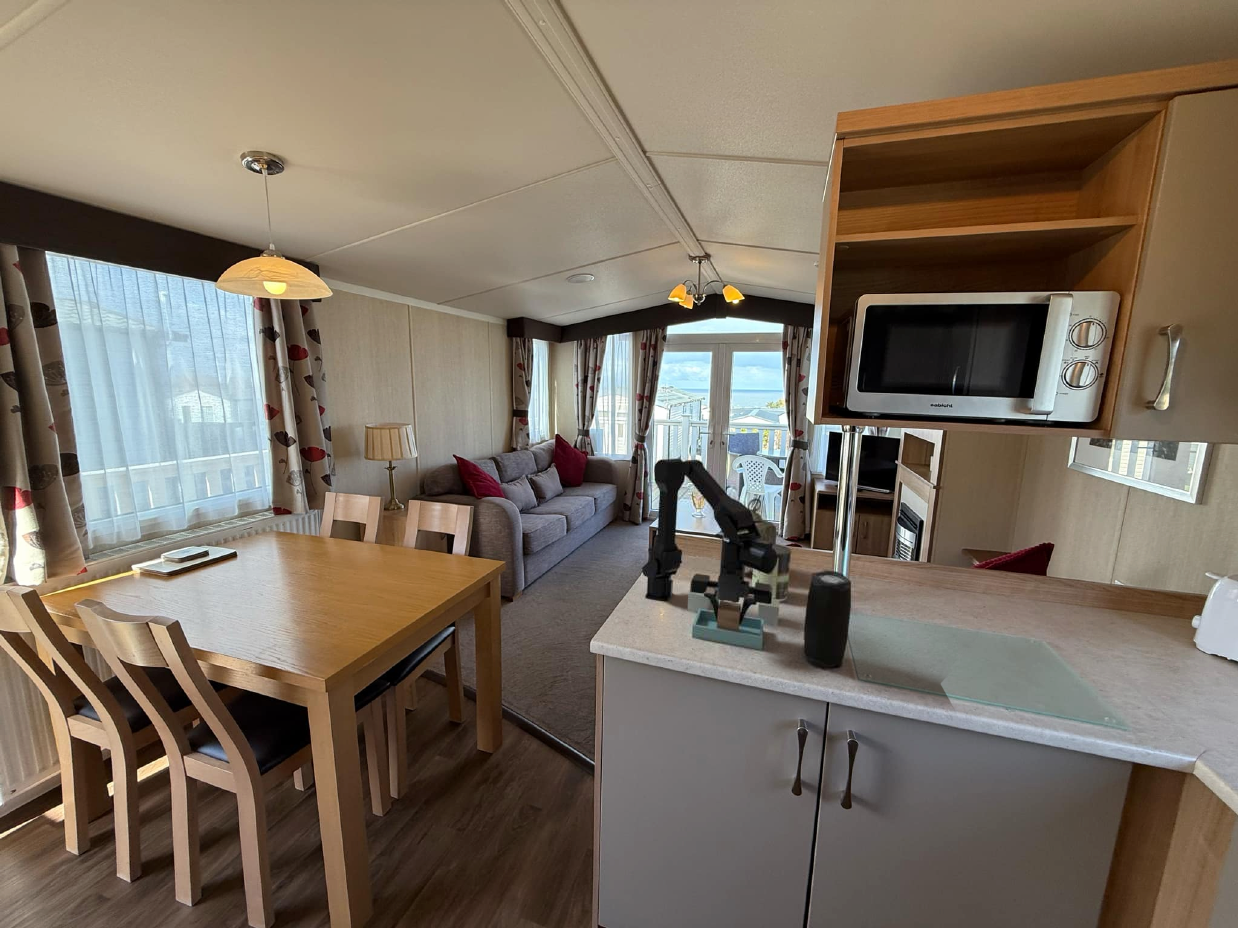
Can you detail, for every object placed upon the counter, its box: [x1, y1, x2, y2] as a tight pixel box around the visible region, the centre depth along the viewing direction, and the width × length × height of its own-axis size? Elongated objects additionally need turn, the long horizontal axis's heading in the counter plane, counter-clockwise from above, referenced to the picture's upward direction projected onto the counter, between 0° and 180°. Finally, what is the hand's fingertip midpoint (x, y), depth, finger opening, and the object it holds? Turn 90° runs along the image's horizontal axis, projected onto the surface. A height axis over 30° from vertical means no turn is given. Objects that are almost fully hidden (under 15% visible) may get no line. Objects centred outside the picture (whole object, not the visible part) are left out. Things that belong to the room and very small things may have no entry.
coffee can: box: [751, 543, 792, 603], centre depth 140 cm, size 10×10×14 cm
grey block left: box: [687, 590, 710, 613], centre depth 130 cm, size 5×5×5 cm
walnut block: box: [717, 600, 742, 632], centre depth 117 cm, size 5×5×5 cm
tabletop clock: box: [738, 498, 777, 569], centre depth 155 cm, size 14×9×25 cm, turn 130°
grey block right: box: [757, 599, 780, 627], centre depth 125 cm, size 5×5×5 cm
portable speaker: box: [803, 569, 852, 670], centre depth 105 cm, size 9×9×20 cm
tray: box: [691, 609, 764, 651], centre depth 117 cm, size 16×10×3 cm, turn 72°
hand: (728, 621), depth 117 cm, fingers closed on walnut block, 5 cm apart
